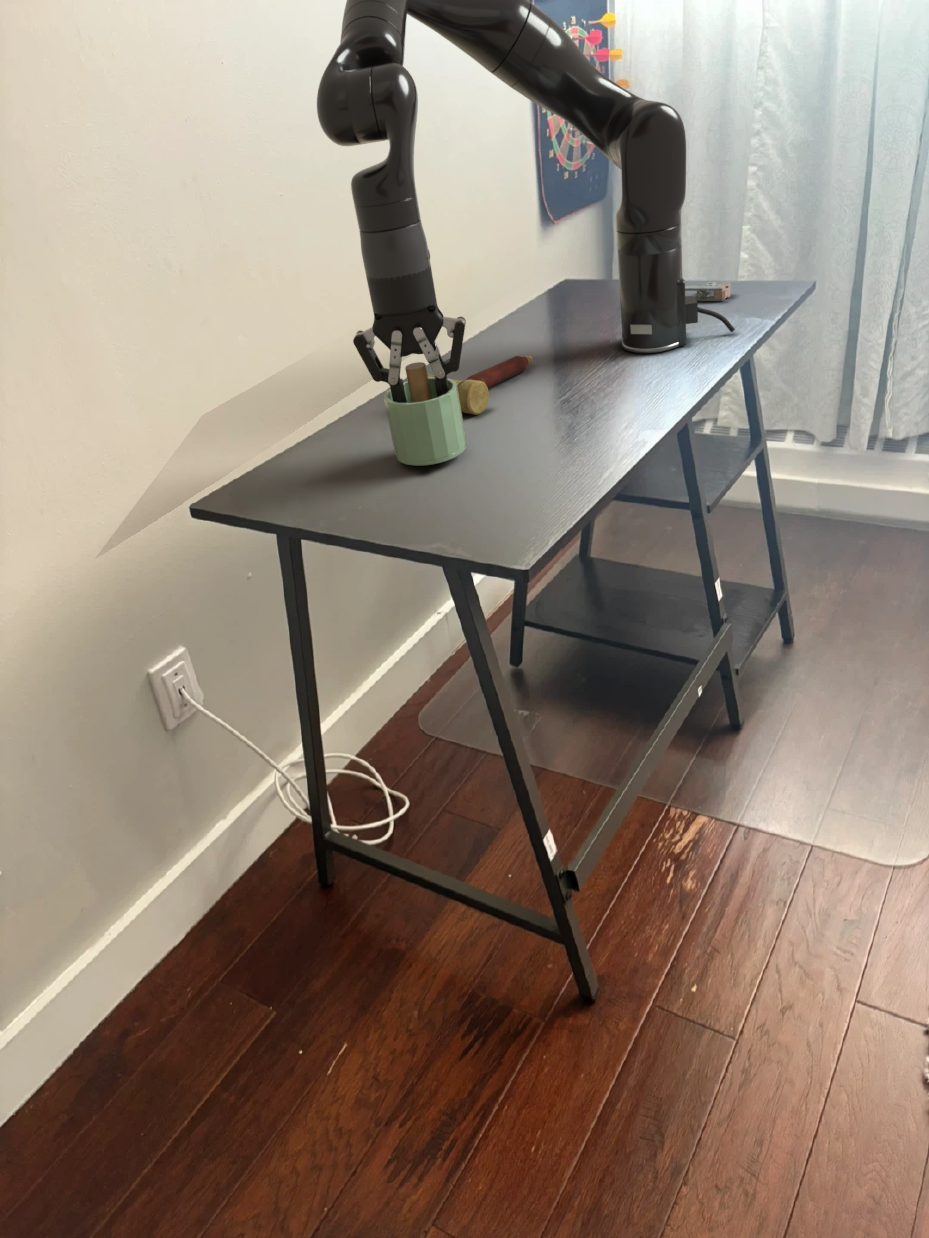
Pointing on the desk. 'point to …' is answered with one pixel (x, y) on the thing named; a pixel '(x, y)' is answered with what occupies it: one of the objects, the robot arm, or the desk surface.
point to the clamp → (719, 290)
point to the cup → (426, 426)
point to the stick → (418, 382)
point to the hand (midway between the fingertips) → (423, 407)
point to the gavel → (487, 383)
